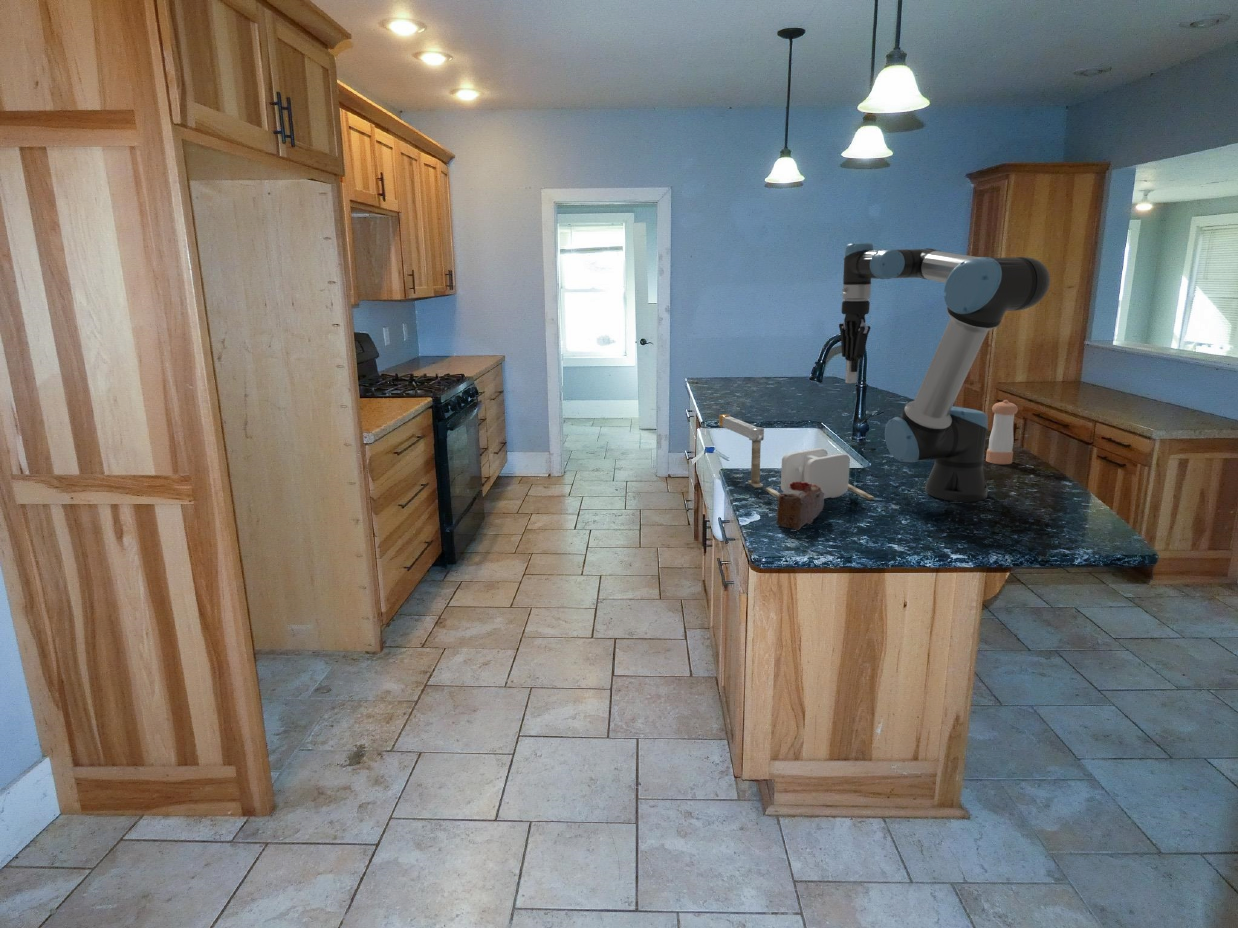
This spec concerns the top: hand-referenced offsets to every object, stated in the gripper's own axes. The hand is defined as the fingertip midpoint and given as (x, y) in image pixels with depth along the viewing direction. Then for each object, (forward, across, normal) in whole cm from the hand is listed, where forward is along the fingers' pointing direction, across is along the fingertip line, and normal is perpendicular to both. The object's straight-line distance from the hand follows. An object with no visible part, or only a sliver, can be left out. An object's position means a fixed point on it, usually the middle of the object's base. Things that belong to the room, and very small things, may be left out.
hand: (850, 382), depth 214 cm
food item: (+27, +37, -34) cm, 57 cm away
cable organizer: (+27, +20, -21) cm, 39 cm away
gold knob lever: (+13, -4, -33) cm, 36 cm away
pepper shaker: (+27, +6, +49) cm, 56 cm away
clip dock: (+26, +16, -21) cm, 37 cm away
